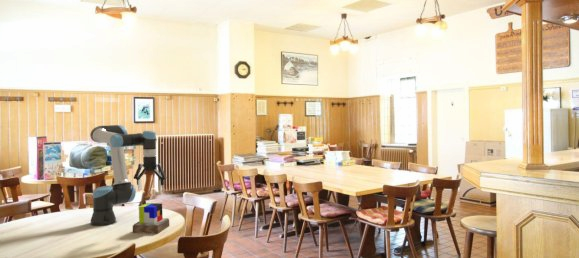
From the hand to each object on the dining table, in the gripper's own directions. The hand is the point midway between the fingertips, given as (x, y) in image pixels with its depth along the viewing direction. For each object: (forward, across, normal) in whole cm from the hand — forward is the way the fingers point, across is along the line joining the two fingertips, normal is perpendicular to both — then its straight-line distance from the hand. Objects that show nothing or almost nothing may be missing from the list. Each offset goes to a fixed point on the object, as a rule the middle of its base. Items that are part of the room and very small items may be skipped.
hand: (150, 190), depth 247 cm
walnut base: (+24, 0, 0) cm, 24 cm away
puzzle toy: (+19, 0, 0) cm, 19 cm away
